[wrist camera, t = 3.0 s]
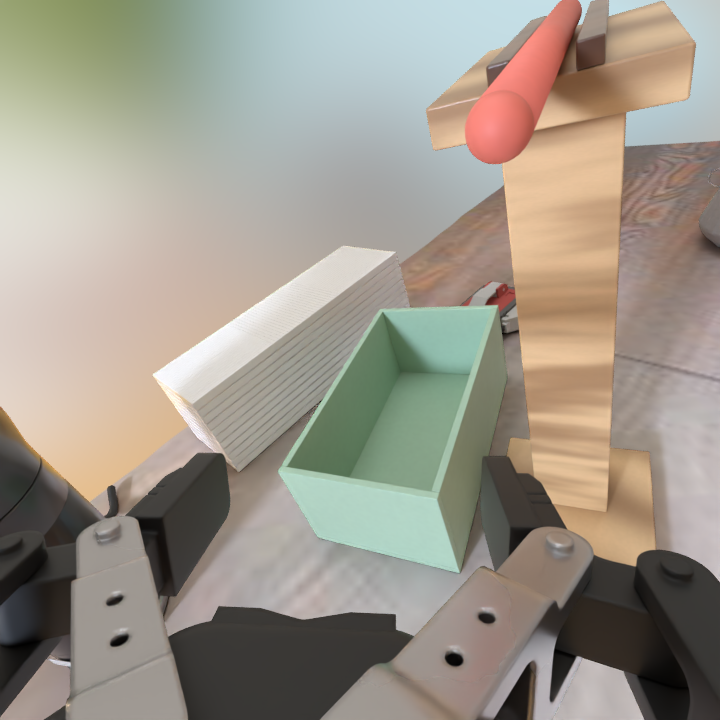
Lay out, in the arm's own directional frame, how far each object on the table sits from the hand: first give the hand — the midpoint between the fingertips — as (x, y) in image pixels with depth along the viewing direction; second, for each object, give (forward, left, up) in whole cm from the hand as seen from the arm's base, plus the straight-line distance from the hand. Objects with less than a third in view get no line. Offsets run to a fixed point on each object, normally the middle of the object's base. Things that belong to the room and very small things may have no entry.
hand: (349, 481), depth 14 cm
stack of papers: (-35, +23, -24) cm, 49 cm away
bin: (-14, +18, -24) cm, 33 cm away
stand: (0, +18, -24) cm, 30 cm away
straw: (+2, +13, +8) cm, 16 cm away
